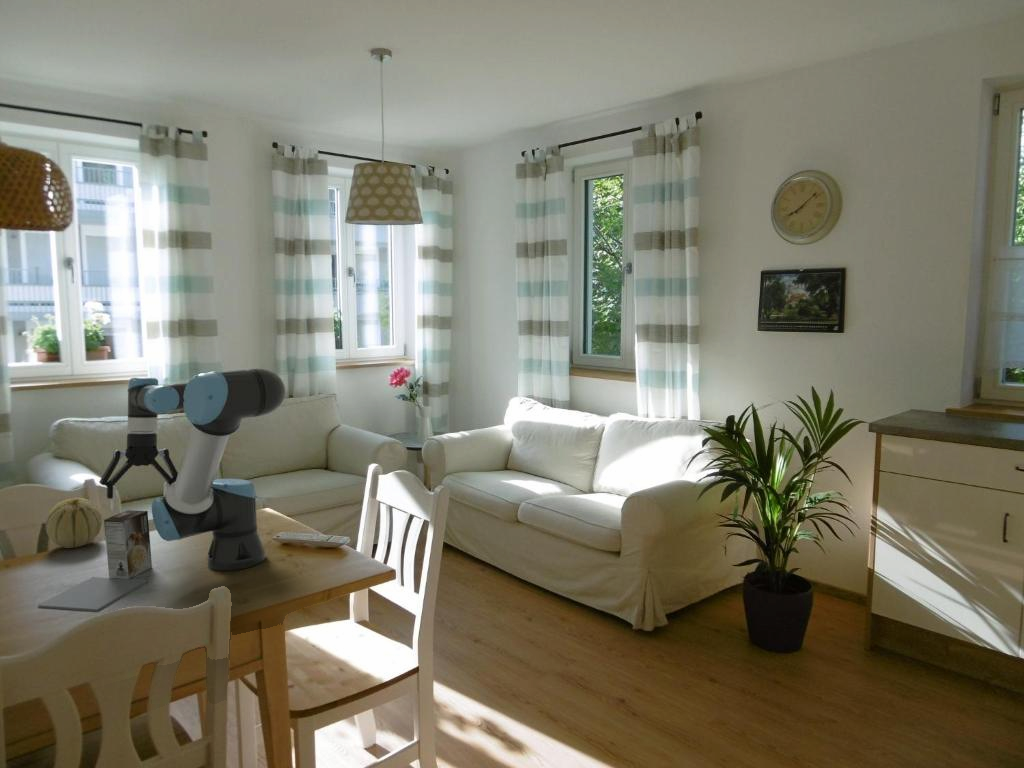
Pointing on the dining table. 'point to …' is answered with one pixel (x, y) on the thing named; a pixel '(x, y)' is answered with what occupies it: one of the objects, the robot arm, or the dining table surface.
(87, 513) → the cantaloupe
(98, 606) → the slate mat
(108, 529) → the coffee box
